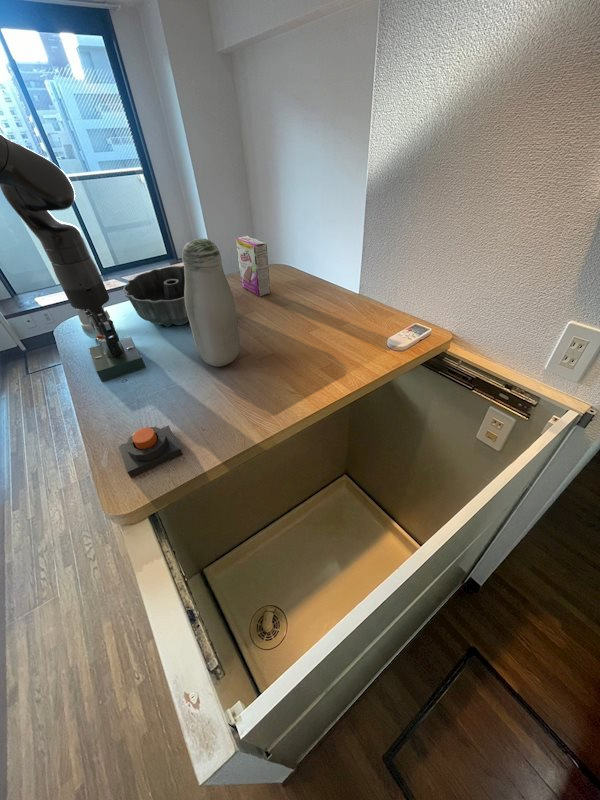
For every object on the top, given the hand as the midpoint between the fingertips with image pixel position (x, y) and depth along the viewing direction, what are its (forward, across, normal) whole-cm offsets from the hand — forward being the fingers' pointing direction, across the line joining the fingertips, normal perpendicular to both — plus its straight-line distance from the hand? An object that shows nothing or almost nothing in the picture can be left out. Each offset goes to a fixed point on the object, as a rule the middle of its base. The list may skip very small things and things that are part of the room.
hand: (113, 350), depth 79 cm
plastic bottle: (+4, -18, +1) cm, 18 cm away
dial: (0, 0, 0) cm, 0 cm away
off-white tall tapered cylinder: (+4, +17, +19) cm, 26 cm away
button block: (+4, +34, -6) cm, 34 cm away
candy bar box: (+4, -12, +51) cm, 53 cm away
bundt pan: (+4, -15, +24) cm, 28 cm away
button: (+1, +34, -6) cm, 34 cm away
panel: (+4, 0, 0) cm, 4 cm away
